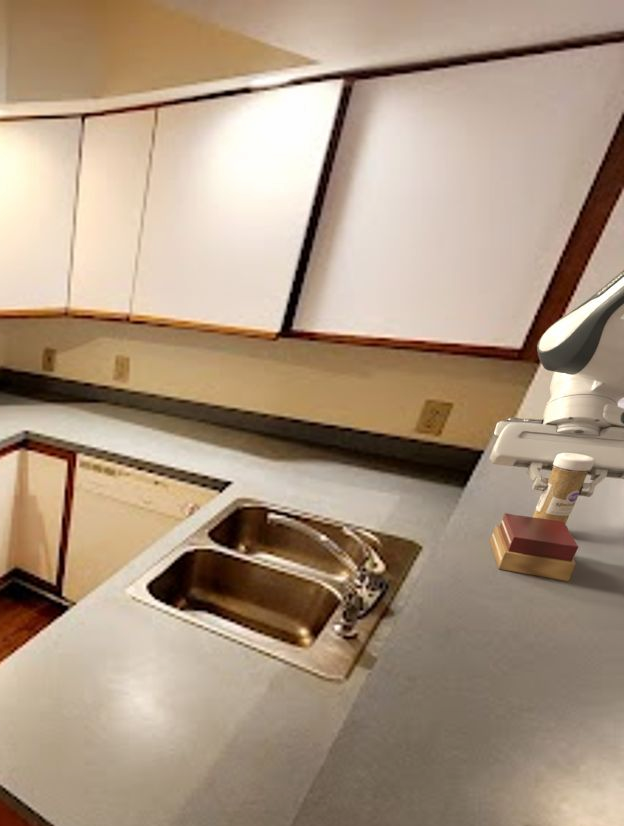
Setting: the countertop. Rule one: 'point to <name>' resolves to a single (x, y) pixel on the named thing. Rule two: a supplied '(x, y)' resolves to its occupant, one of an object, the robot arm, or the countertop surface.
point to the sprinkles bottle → (563, 486)
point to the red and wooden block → (534, 547)
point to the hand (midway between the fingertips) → (562, 492)
